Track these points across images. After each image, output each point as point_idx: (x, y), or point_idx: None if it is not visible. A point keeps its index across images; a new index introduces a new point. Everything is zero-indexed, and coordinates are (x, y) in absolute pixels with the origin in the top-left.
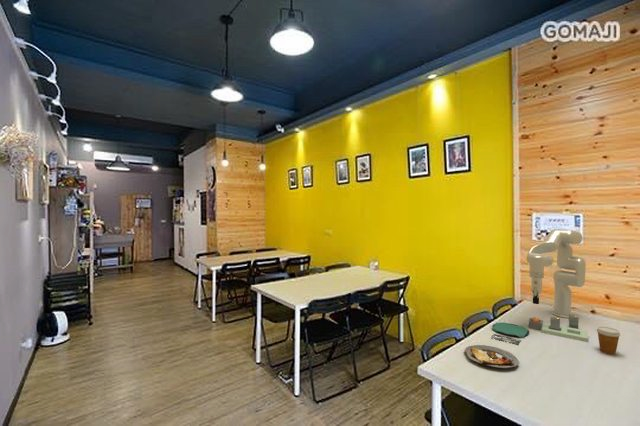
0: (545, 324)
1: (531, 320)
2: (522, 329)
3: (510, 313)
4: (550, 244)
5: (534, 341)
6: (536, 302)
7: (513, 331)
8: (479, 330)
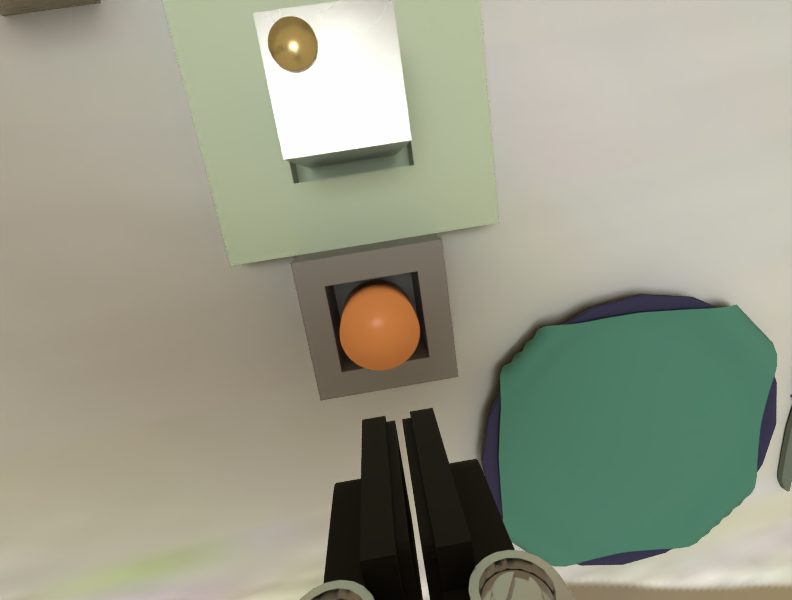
0: (283, 228)
1: None
2: (559, 367)
3: (92, 585)
4: None
5: (752, 215)
6: (477, 471)
7: (654, 407)
8: (751, 579)
